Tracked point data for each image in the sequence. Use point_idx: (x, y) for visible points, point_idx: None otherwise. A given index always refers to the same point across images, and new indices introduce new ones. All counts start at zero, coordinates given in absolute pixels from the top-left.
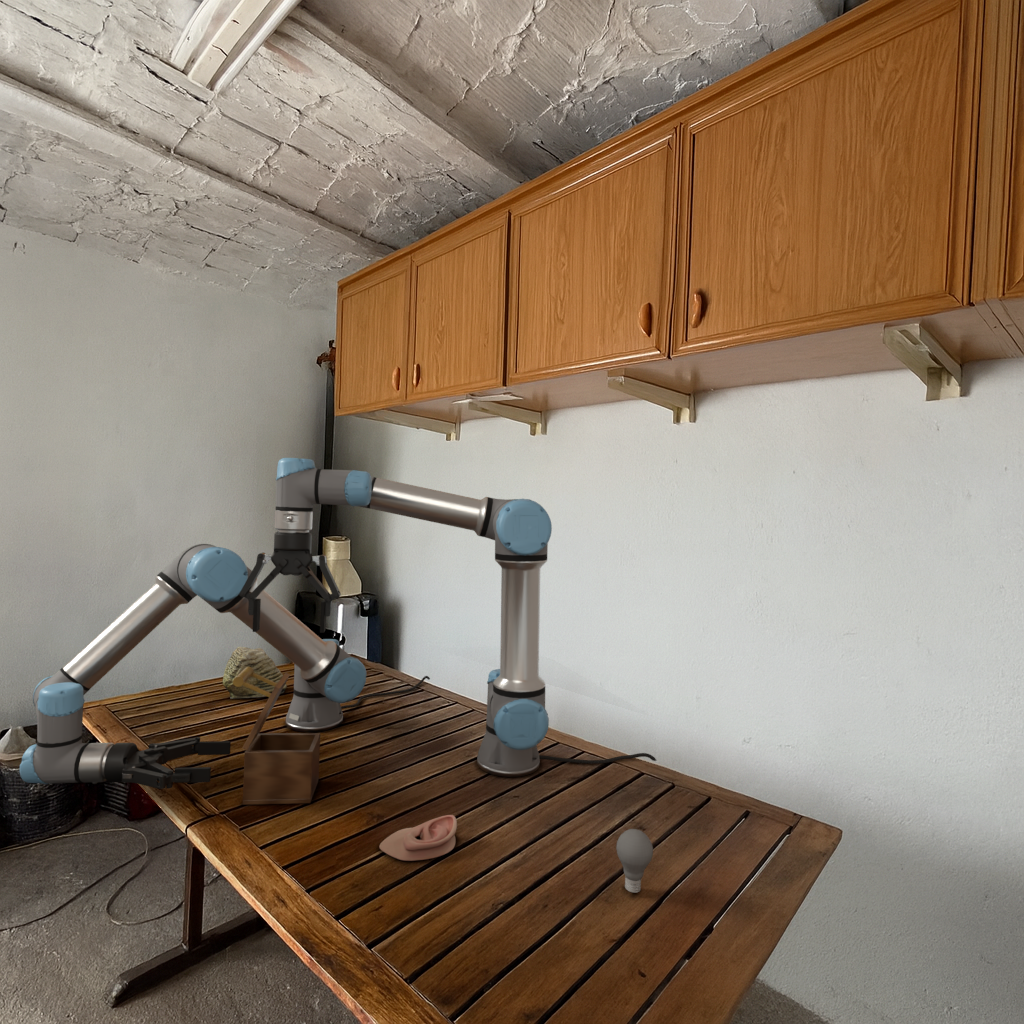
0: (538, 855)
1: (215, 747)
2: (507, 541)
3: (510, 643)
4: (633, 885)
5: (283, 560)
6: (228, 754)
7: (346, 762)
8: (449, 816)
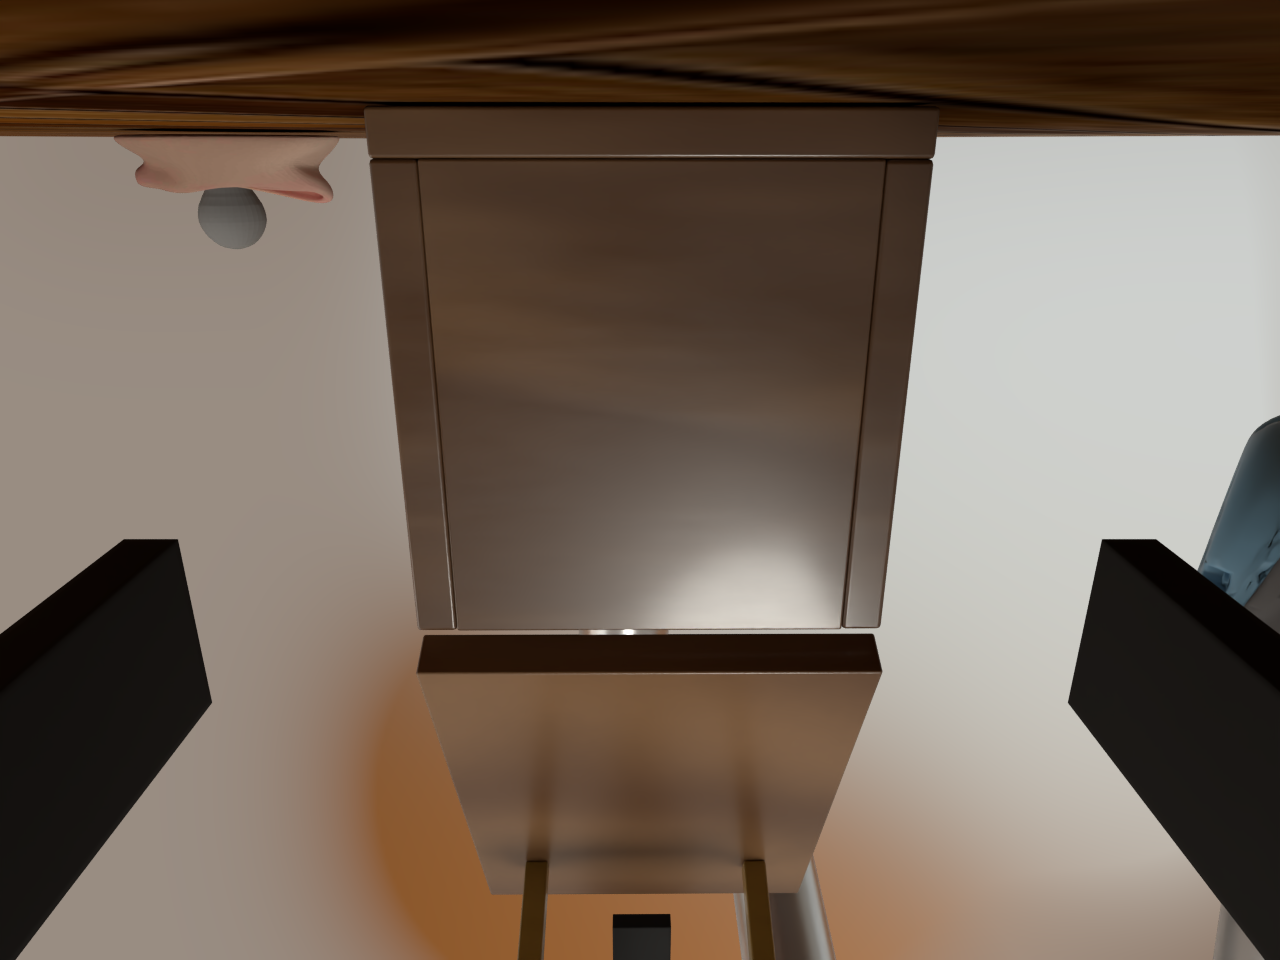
0: (292, 134)
1: (1198, 775)
2: None
3: None
4: None
5: None
6: (1111, 545)
7: (1040, 124)
8: (321, 200)
